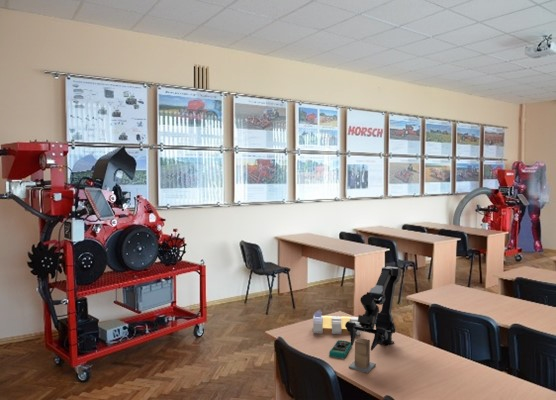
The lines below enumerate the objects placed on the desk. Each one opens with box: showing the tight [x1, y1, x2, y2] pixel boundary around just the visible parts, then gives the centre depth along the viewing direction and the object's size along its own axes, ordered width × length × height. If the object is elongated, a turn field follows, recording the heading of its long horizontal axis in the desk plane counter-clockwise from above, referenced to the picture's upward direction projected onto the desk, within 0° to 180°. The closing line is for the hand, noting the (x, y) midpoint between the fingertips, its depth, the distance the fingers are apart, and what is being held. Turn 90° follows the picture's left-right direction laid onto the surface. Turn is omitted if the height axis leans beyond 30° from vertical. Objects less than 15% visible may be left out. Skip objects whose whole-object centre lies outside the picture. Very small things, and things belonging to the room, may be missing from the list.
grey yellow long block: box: [312, 309, 362, 336], centre depth 229 cm, size 25×10×13 cm, turn 84°
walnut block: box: [354, 337, 371, 368], centre depth 187 cm, size 5×5×11 cm
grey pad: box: [348, 360, 376, 374], centre depth 188 cm, size 9×9×1 cm
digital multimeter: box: [328, 339, 353, 360], centre depth 204 cm, size 8×15×3 cm, turn 157°
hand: (361, 347), depth 186 cm, fingers open, 9 cm apart
